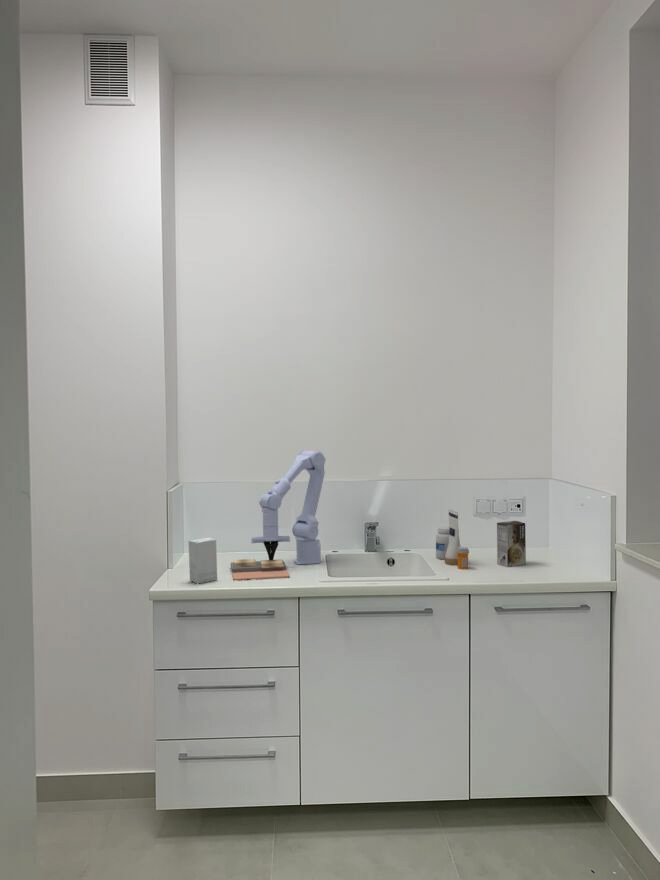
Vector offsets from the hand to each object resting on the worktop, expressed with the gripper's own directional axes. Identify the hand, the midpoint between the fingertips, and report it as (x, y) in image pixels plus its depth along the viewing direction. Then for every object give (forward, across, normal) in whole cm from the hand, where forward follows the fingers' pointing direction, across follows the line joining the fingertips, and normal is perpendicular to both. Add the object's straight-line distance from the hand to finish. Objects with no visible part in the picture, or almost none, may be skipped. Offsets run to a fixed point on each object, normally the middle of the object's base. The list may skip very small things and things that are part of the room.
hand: (271, 561), depth 266 cm
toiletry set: (+3, +70, -6) cm, 71 cm away
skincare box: (+3, -25, -14) cm, 29 cm away
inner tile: (+1, 0, -4) cm, 4 cm away
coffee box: (+3, +91, -14) cm, 92 cm away
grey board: (+3, -5, 0) cm, 6 cm away
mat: (+3, -5, -11) cm, 12 cm away
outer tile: (+1, -10, -1) cm, 10 cm away
